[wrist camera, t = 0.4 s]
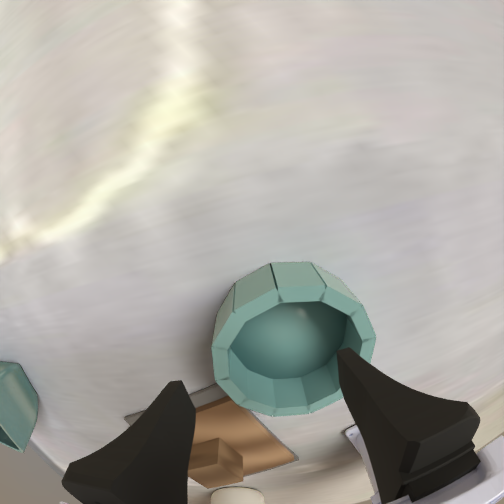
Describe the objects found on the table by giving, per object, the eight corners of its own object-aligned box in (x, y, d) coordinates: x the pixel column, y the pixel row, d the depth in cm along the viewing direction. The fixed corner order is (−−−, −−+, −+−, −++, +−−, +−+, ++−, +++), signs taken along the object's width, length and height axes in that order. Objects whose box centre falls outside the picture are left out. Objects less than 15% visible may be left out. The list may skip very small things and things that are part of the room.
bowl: (370, 341, 23) (390, 371, 19) (261, 396, 24) (264, 431, 20) (318, 234, 20) (337, 251, 16) (190, 307, 22) (179, 338, 17)
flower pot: (-14, 346, 23) (-51, 382, 15) (21, 349, 23) (-22, 393, 14) (16, 399, 26) (-13, 437, 17) (54, 406, 25) (25, 454, 17)
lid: (293, 455, 27) (298, 483, 23) (203, 479, 28) (201, 505, 24) (231, 394, 24) (230, 429, 20) (133, 427, 25) (123, 455, 21)
